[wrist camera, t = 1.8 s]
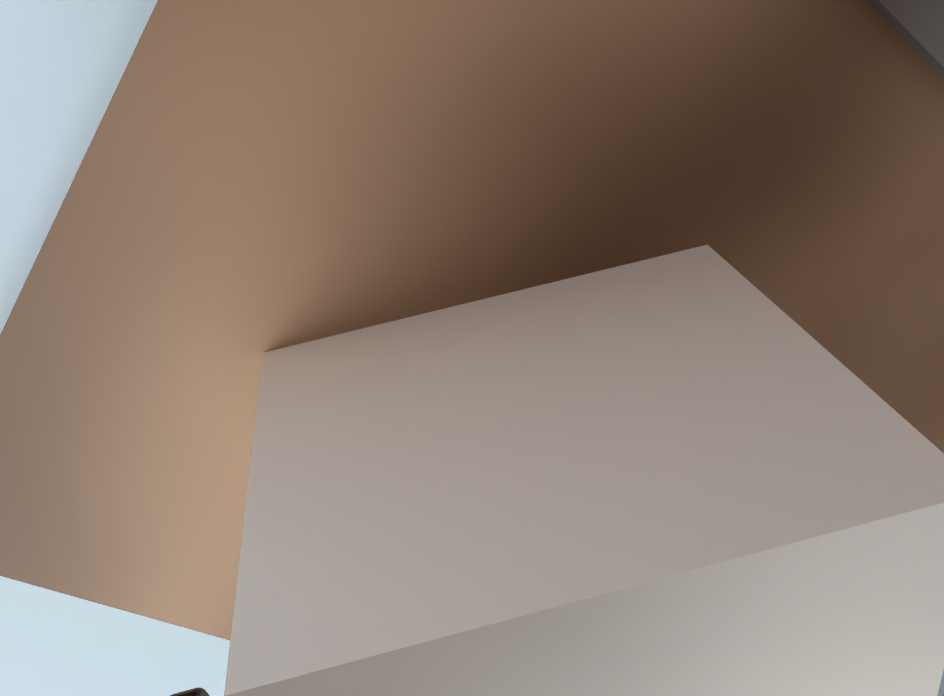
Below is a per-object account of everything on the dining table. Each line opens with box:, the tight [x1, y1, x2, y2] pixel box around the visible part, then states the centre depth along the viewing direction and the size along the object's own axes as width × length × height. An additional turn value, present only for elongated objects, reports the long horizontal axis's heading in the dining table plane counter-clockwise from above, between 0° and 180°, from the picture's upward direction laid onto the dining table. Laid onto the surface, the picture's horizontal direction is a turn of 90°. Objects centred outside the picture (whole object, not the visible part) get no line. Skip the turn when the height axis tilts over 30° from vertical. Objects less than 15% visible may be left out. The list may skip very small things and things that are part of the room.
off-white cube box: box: [224, 245, 944, 696], centre depth 10 cm, size 6×6×5 cm
